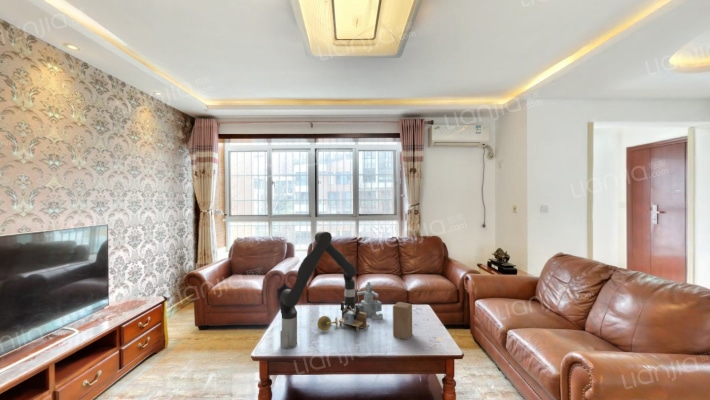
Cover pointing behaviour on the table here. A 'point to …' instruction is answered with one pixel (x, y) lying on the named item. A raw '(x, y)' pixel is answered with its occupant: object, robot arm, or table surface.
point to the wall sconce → (325, 323)
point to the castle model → (370, 303)
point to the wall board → (357, 320)
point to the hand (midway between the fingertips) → (349, 318)
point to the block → (402, 320)
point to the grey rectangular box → (349, 317)
